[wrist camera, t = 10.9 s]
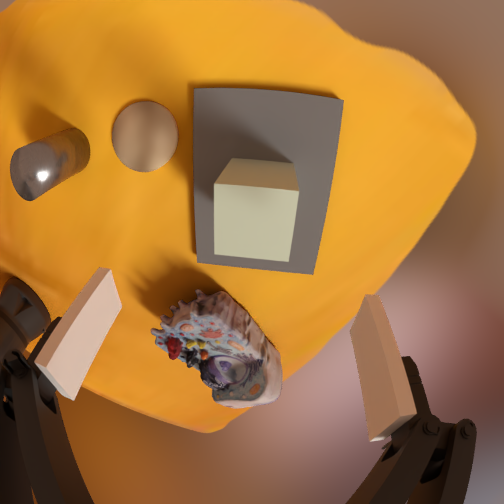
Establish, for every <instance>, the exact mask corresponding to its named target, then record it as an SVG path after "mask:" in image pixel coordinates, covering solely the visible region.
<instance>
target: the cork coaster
mask: <svg viewBox="0 0 504 504" xmlns="http://www.w3.org/2000/svg"><path fill="white" fill-rule="evenodd" d="M178 136H179V133H178V127H177V123H176V121H175V119H174V117H173V115H172V114H171V112H170V111H169V110H168V109H167V108H165V107H164V106H163V105H161V104H159V103H156V102H152V101H142V102H137V103H134V104H131V105H130V106H128V107H127V108H125V109H124V110H123V111H122V112H121V113H120V114H119V116H118V117H117V119H116V121H115V123H114V127H113V131H112V142H113V147H114V150H115V153H116V154H117V156H118V158H119V159H120V160H121V162H122V163H123V164H125V165H126V166H127V167H129V168H130V169H132V170H135V171H139V172H150V171H154V170H156V169H158V168H160V167H162V166H163V165H164V164H166V163H167V162H168V161H169V160H170V159H171V157H172V156H173V154H174V152H175V150H176V148H177V144H178Z"/></svg>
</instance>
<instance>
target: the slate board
mask: <svg viewBox="0 0 504 504" xmlns="http://www.w3.org/2000/svg"><path fill="white" fill-rule="evenodd" d="M343 102H344V100H340V99H335V98H329V97H323V96H317V95H310V94H303V93H295V92H286V91H276V90H263V89H245V88H194V117H193V173H194V210H195V233H196V251H197V263H205V264H214V265H223V266H233V267H242V268H252V269H261V270H271V271H281V272H291V273H302V274H312V275H313V272H314V268H315V263H316V259H317V255H318V250H319V246H320V241H321V236H322V232H323V227H324V222H325V217H326V212H327V206H328V201H329V196H330V190H331V185H332V179H333V173H334V167H335V161H336V154H337V148H338V141H339V134H340V127H341V119H342V111H343ZM232 158H239V159H253V160H265V161H275V162H285V163H294V167H295V172H296V177H297V182H298V188H299V196H298V203H297V210H296V217H295V224H294V231H293V237H292V244H291V250H290V256H289V262H285V261H275V260H265V259H255V258H246V257H236V256H226V255H217V254H214V183H215V182H216V180H217V179H218V177H219V176H220V174H221V173H222V172H223V170H224V169H225V167H226V166H227V165H228V163H229V162H230V160H231V159H232Z"/></svg>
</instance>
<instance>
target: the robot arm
mask: <svg viewBox="0 0 504 504" xmlns="http://www.w3.org/2000/svg"><path fill="white" fill-rule="evenodd" d="M121 308H122V305H121V302H120V299H119V296H118V292H117V289H116V286H115V283H114V279H113V276H112V272H111V269H107V268H100V267H99V269H98V270H97V271H96V272H95V274H94V275H93V276H92V277H91V279H90V280H89V281H88V283H87V284H86V285H85V287H84V288H83V289H82V291H81V292H80V293H79V295H78V296H77V297H76V299H75V300H74V302H73V303H72V304H71V306H70V307H69V309H68V310H67V311H66V313H65V314H64V316H63V317H57V318H56V319H55V320H54V321H52V322H51V318H50V315H49V313H48V311H47V309H46V307H45V306H44V304H43V303H42V301H41V300H40V298H39V297H38V296H37V295H36V294H35V292H34V291H33V290H32V289H31V288H30V287H29V286H27V285H26V284H25V283H24V282H22V281H21V280H19V279H17V278H10V279H9V280H8V281H7V282H6V284H5V285H4V287H3V290H2V292H1V294H0V504H34V501H33V495H32V489H33V492H34V495H35V498H36V500H37V503H38V504H94V502H93V500H92V498H91V496H90V494H89V492H88V490H87V487H86V485H85V483H84V480H83V478H82V476H81V473H80V471H79V468H78V466H77V463H76V460H75V458H74V455H73V452H72V449H71V446H70V443H69V440H68V437H67V434H66V430H65V427H64V423H63V420H62V416H61V412H60V408H59V404H58V399H57V396H56V394H55V391H56V390H58V391H59V392H60V393H61V394H62V395H63V396H65V397H67V398H69V399H72V400H74V399H75V397H76V395H77V393H78V391H79V388H80V386H81V384H82V382H83V380H84V378H85V376H86V374H87V372H88V370H89V367H90V365H91V363H92V361H93V360H94V358H95V356H96V354H97V352H98V350H99V348H100V346H101V344H102V342H103V340H104V338H105V337H106V335H107V333H108V331H109V329H110V327H111V326H112V324H113V322H114V320H115V318H116V317H117V315H118V313H119V311H120V310H121ZM45 331H46V332H45ZM42 333H44V334H43V335H42V338H40V340H39V342H38V343H37V345H36V346H35V348H34V349H33V351H32V353H31V354H30V356H29V358H28V359H27V360H26V358H25V357H24V356H23V354H22V353H23V352H24V350H25V349H26V347H27V345H28V344H29V343H30V342H31V341H33V340H34V339H35V338H37V337H38V336H40V335H41V334H42ZM350 334H351V339H352V343H353V348H354V352H355V358H356V362H357V368H358V373H359V378H360V384H361V389H362V395H363V401H364V407H365V414H366V421H367V428H368V435H369V441H377V440H383V439H386V438H387V437H388V436H390V435H391V438H392V440H391V441H390V442H388V443H387V444H386V445H384V447H382V449H385V448H386V449H385V451H384V452H383V454H382V456H381V457H380V458H379V460H378V461H377V463H376V464H375V466H374V467H373V469H372V470H371V472H370V473H369V474H368V476H367V477H366V478H365V480H364V481H363V483H362V484H361V485H360V486H359V488H358V489H357V490H356V492H355V493H354V494H353V495H352V497H351V498H350V499H349V500H348V501H347V503H346V504H405V503H406V502H407V500H408V502H407V504H463V503H464V499H465V495H466V492H467V488H468V483H469V478H470V474H471V469H472V463H473V457H474V450H475V442H476V433H477V432H476V427H475V424H474V423H473V422H472V421H471V420H469V419H463V420H461V421H459V422H458V423H457V424H452V423H444V422H441V421H440V420H439V418H437V417H436V416H435V415H432V414H431V411H430V408H429V405H428V401H427V397H426V394H425V391H424V387H423V384H422V381H421V378H420V376H419V371H418V368H417V366H416V364H415V362H414V361H413V360H412V359H411V357H410V356H406V357H401V355H400V352H399V350H398V346H397V343H396V340H395V337H394V334H393V332H392V329H391V326H390V324H389V321H388V318H387V315H386V313H385V310H384V307H383V305H382V302H381V300H380V297H379V295H365V297H364V299H363V302H362V304H361V307H360V309H359V311H358V314H357V316H356V319H355V321H354V323H353V325H352V328H351V330H350ZM4 396H5V397H6V401H5V402H4V401H3V398H4ZM31 486H32V489H31ZM408 498H409V499H408Z"/></svg>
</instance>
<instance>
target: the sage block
mask: <svg viewBox="0 0 504 504" xmlns="http://www.w3.org/2000/svg"><path fill="white" fill-rule="evenodd" d="M298 196H299V188H298V182H297V177H296V172H295V167H294V163H285V162H275V161H265V160H253V159H239V158H232V159H231V160H230V162H229V163H228V165H227V166H226V167H225V169H224V170H223V172H222V173H221V174H220V176H219V177H218V179H217V180H216V182H215V183H214V254H217V255H226V256H236V257H246V258H255V259H265V260H275V261H285V262H289V256H290V250H291V244H292V237H293V231H294V224H295V217H296V210H297V203H298Z"/></svg>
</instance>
